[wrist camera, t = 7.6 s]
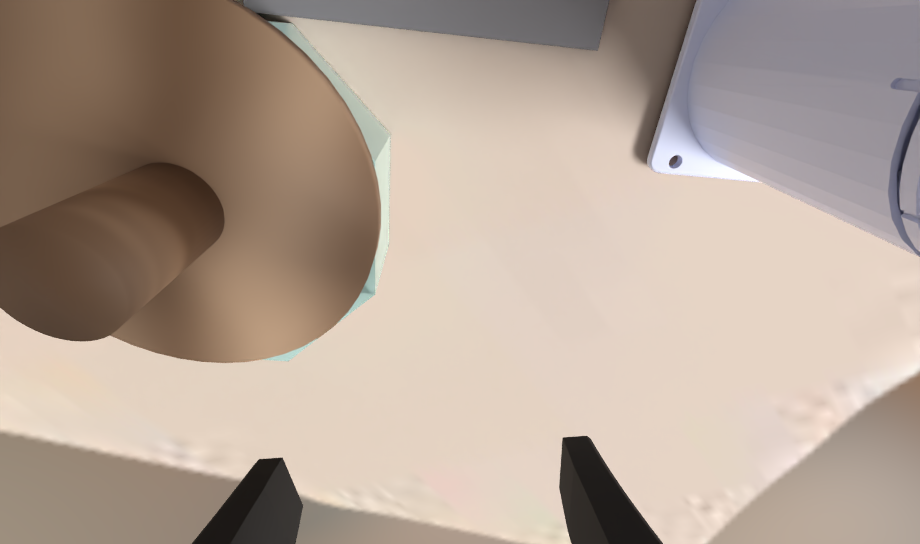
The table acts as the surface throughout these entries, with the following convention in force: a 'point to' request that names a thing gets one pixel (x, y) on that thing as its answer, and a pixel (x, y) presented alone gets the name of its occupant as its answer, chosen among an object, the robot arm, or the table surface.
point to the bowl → (380, 153)
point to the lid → (176, 180)
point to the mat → (462, 17)
